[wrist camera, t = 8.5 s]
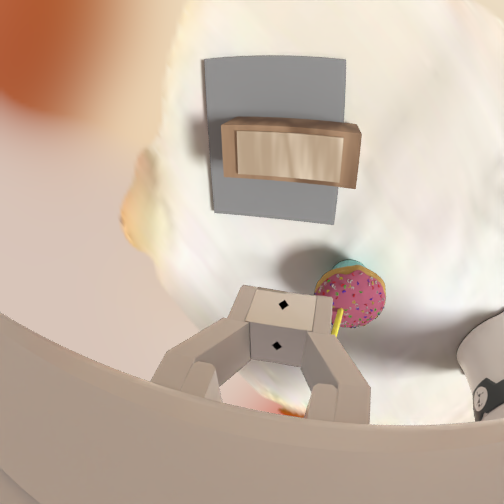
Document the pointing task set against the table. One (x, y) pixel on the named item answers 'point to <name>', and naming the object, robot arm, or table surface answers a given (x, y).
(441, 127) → the table surface
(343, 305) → the cupcake
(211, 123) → the mat
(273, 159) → the walnut block
